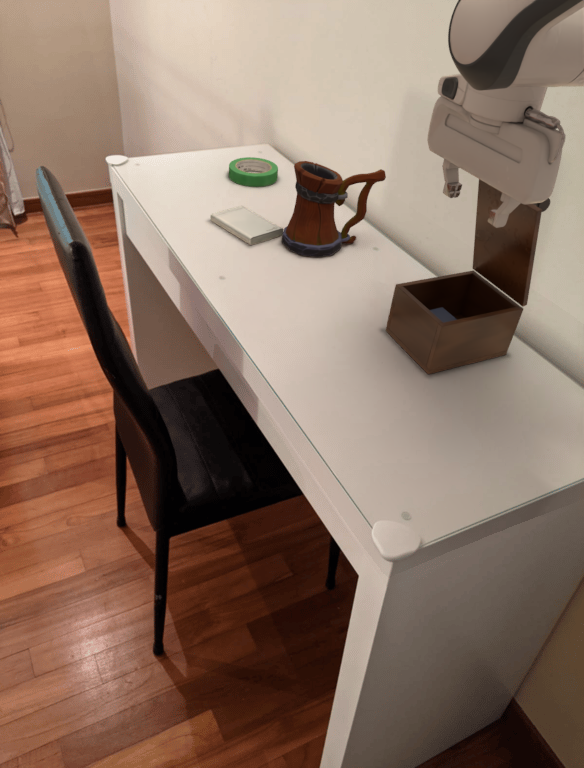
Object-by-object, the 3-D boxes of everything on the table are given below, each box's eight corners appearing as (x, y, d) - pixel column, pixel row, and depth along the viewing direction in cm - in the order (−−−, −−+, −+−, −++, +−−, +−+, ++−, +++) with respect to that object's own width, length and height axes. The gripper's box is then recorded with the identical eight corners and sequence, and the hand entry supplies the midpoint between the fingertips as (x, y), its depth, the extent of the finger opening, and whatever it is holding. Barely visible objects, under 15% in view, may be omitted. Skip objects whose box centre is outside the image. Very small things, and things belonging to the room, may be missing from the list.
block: (453, 346, 92) (460, 322, 89) (429, 352, 90) (437, 328, 88) (435, 331, 95) (442, 307, 92) (412, 336, 93) (418, 312, 90)
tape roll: (249, 190, 133) (250, 178, 132) (218, 174, 139) (219, 162, 137) (287, 181, 139) (288, 169, 138) (256, 165, 145) (256, 154, 144)
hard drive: (283, 227, 117) (243, 204, 123) (250, 238, 112) (210, 213, 119) (283, 235, 118) (242, 212, 125) (250, 246, 113) (210, 221, 120)
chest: (428, 374, 87) (442, 326, 82) (385, 330, 95) (395, 284, 90) (506, 354, 93) (524, 308, 88) (459, 314, 101) (473, 270, 96)
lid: (537, 211, 76) (571, 196, 78) (478, 176, 84) (510, 164, 85) (522, 307, 87) (553, 293, 88) (472, 268, 95) (500, 256, 96)
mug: (364, 230, 123) (377, 155, 113) (381, 257, 114) (396, 179, 105) (276, 230, 119) (282, 153, 110) (287, 259, 111) (294, 177, 101)
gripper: (591, 121, 65) (547, 241, 73) (471, 73, 79) (445, 179, 87) (547, 125, 62) (506, 248, 71) (431, 75, 76) (409, 183, 85)
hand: (472, 209), depth 79 cm, fingers open, 8 cm apart
